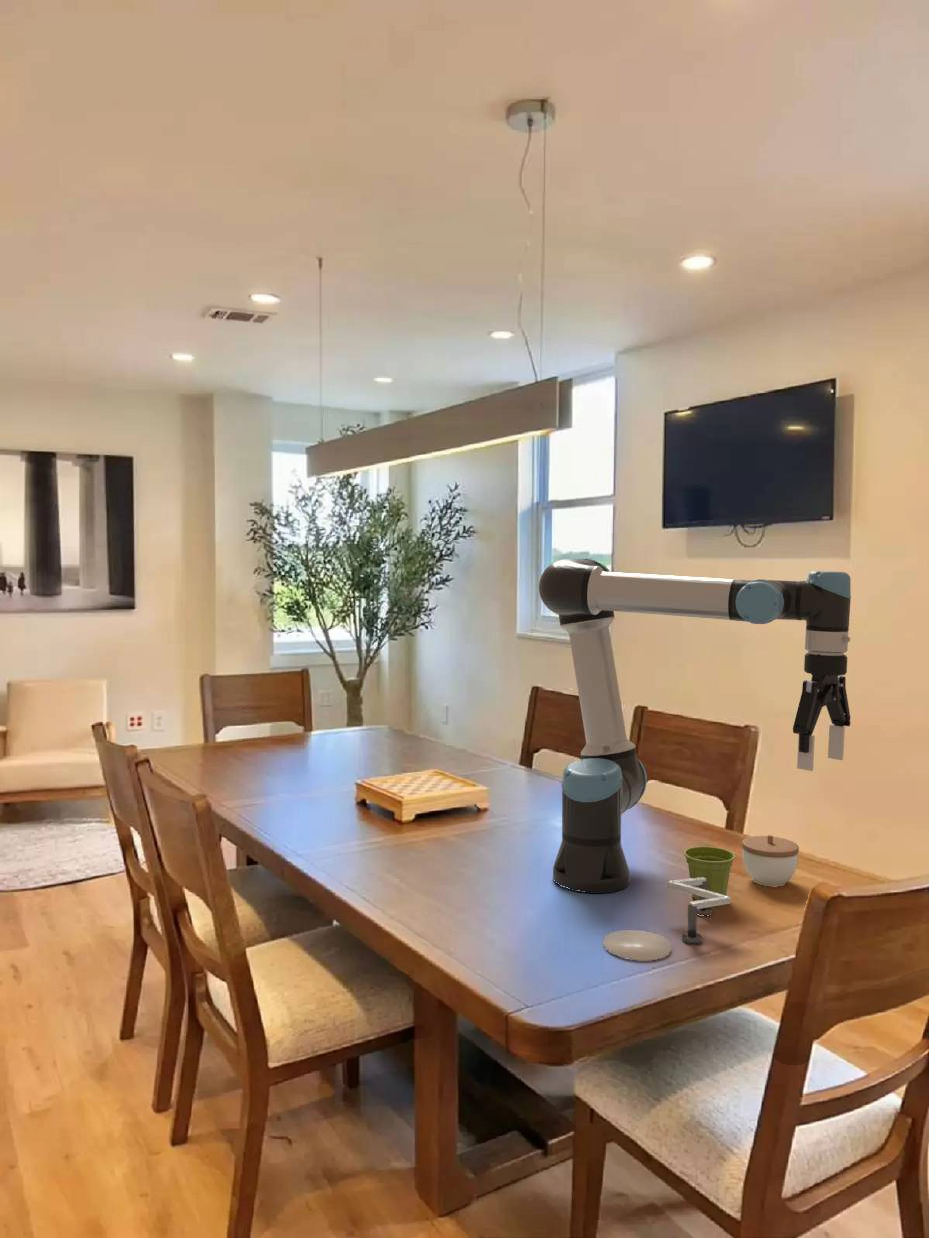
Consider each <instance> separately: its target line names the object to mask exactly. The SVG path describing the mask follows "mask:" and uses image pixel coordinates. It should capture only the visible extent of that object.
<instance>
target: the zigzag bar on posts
mask: <svg viewBox="0 0 929 1238" xmlns="http://www.w3.org/2000/svg"><path fill="white" fill-rule="evenodd" d="M667 882H668V883H667V885H668V887H667V888H669V889H674V890H677V891H679V892H684V893H687V894H691V895H692V894H694V895H697V896H699V901H697V900H693V901H689V902H688V905H687V906H688V907H687V908H688V910H687V932H684V933H683V934H682V936H681V937H682V938H681V940H683V941H684V942H686V943H685V944H687V943H689V944H688V945H691V944H698V945H700V944H699V943H701V942H702V943H703V936H702V935H701V934H700V933H698V931H697V929H698V928H697V927H698V925H697V923H698V921H697V920H698V916H697V914H699V915H704V916H707V915H710V914H712V915H713V909H712V908H711V907H717V906H724V905H728V904H731V902H732V900H731V899H732V898H731V896H728V895H727V894H726V895H722V894H719V893H715V892H711V891H708V890H707V880H706V878H704V877H699V878H690V877H689V878H683V879H682V878H681V879H674V880H673V879H672V880H671V879H670V880H668V881H667ZM696 885H699V888H697V887H693V886H696ZM707 898H708V899H707ZM683 941H682V942H683ZM684 942H683V943H684ZM702 943H701V944H702Z"/></svg>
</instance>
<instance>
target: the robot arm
mask: <svg viewBox="0 0 929 1238" xmlns="http://www.w3.org/2000/svg"><path fill="white" fill-rule="evenodd" d="M806 579H807V580H800V581H799V580H798V581H797V580H796V581H795V580H794V581H793V580H781V579H779V580H777V579H776V580H774V579H773V580H772V579H748V580H747V579H730V578H715V577H700V576H699V577H698V576H681V575H680V576H679V575H663V574H648V573H647V574H646V573H632V572H630V573H629V572H618V571H617V572H615V571H611V570H610V569H609V568H608V567H607V566H606V565H605V564H602V563H601V562H599V561H596V560H594V559H589V558H576V559H574V558H573V559H572V558H564V559H559V560H555V561H554V562H553V563H551V564H549V565H548V566H547V567H546V568H545V570H544V571H543V572H542V574H541V576H540V580H539V582H538V592H539V593H538V594H539V596H540V599H541V601H542V603H543V605H545V607H546V608H547V609H548V610H549V611H551V612H552V613H554V614H557V615H558V620H559V625H560V627H561V628H562V629H563V630H565V631H566V632H567V633H568V636H569V643H570V648H571V650H570V651H571V655H572V661H573V668H574V674H575V680H576V686H577V687H576V688H577V693H578V699H579V705H580V711H581V719H582V723H583V730H584V731H583V732H584V737H585V742H586V743H585V746H584V747H583V749H582V750H581V752H580V757H581V760H580V759H577V760H574V761H571V762H570V763H568V764H566V766H565V767H564V769H563V772H562V780H561V789H562V790H561V797H562V798H561V843H560V846H559V848H558V852H557V854H556V859H555V861H554V864H553V867H552V880H553V879H554V880H555V882H557V883H559V884H560V885H562V886H565V887H568V888H570V889H573V890H580V891H585V892H594V893H593V894H607V892H608V893H614V892H618V891H620V890H623V888H624V889H626V888H627V887H628V884H630V869H629V865H628V861H627V859H626V856H625V853H624V849H623V847H622V842H621V841H622V815H623V814H624V813H625V812H627V811H628V810H630V809H631V808H633V807H634V806H635V805H637V803H639V801H640V800H641V799H642V797H643V795H644V794H645V791H646V788H647V785H648V784H647V782H648V776H647V772H646V768H645V767H644V764H643V763H642V761H640V760H639V759H638V754H637V749H636V745H635V743H633V742H632V741H631V740H629V739H628V737H627V730H626V727H625V720H624V712H623V707H622V701H621V695H620V690H619V689H620V688H619V682H618V681H619V680H618V675H617V669H616V663H615V657H614V651H613V645H612V644H613V643H612V638H611V633H610V625H611V624H612V623H613V622H614V620H615V619H616V617H615V613H614V612H621V613H622V612H623V613H632V614H633V613H637V614H648V615H659V616H660V615H661V616H674V617H675V616H677V617H687V618H699V619H713V620H727V621H736V622H737V621H738V622H748V623H750V624H754V625H766V624H769V623H771V622H773V621H775V620H779V621H780V620H785V621H786V620H787V621H788V620H789V621H791V620H792V621H805V624H806V626H805V641H804V650H805V651H807V652H806V653H805V654H804V660H803V661H804V664H803V665H804V667H803V671H804V672H805V673H806V674H810V675H811V680H805V679H804V680H803V682H802V688H801V695H800V698H799V702H798V707H797V711H796V714H795V717H794V722H793V726H792V732H793V734H796V735H798V739H797V741H798V743H797V744H798V745H797V761H796V762H797V763H796V769H799V770H805V771H810V772H812V771H814V762H815V761H814V757H815V739H816V738H815V737H816V736H815V734H813V733H814V730H815V727H816V725H817V723H818V720H819V718H820V717H819V716H821V715H820V714H821V712H822V709H823V708H824V707H826V709H827V712H828V716H829V718H830V721H831V724H829V726H828V727H829V728H828V729H829V730H828V749H827V759H832V760H837V761H838V760H839V761H844V751H845V749H844V748H845V734H846V733H845V730H846V727H850V726H851V714H850V713H851V712H850V707H849V699H848V695H847V694H848V693H847V687H846V685H847V684H846V674H847V672H848V671H847V670H848V656H847V655H846V654H845V653H847V652H848V650H849V649H848V646H849V642H851V637H850V636H849V628H850V613H851V601H852V600H851V598H852V595H851V593H852V592H851V585H852V584H851V576H850V575H849V573H847V572H845V571H823V570H822V571H817V570H812V571H810V572H809V573H808V577H807V578H806ZM554 880H553V881H554ZM555 882H554V883H555ZM626 886H627V887H626ZM573 890H572V891H573ZM617 890H618V891H617ZM613 891H614V892H613ZM585 892H584V893H585ZM596 892H597V893H596Z"/></svg>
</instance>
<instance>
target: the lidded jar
mask: <svg viewBox="0 0 929 1238" xmlns="http://www.w3.org/2000/svg"><path fill="white" fill-rule="evenodd" d="M741 847H742V853H741V855H742V862H743V866H744V869H745V871H746V874H748V877H750V878H751V879H752V880H754V881H755V882H756V883H759V884H761V885H764V886H763V887H766V886H782V887H784V886H785V885H786V884H785V883H788V882H789V881H790V880H791V879H792V878H793V876H795V873H796V871H797V868H798V863H799V862H798V861H799V851H800V850H799V849H800V847H799V845H798V844H797V843H795V842H794V841H792V840H789V839H787V838H783V837H777V836H774V835H772V834H768V835H757V836H756V835H755V836H749V837H746V838H744V839H742V841H741ZM754 881H753V882H754ZM755 882H754V883H755ZM756 883H755V884H756ZM784 884H785V885H784ZM761 885H760V886H761ZM783 885H784V886H783Z"/></svg>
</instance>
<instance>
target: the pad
mask: <svg viewBox="0 0 929 1238" xmlns="http://www.w3.org/2000/svg"><path fill="white" fill-rule="evenodd" d="M603 944H604V945H603V948H604V947H605V948H606V949H607V950H608V951H610V952H611V953H612V954H614V955H617V956H619V957H621V958H620V959H622V958H628V959H630V960H629V961H632V960H637V961H636V962H653V961H652V960H656V961H658V960H657V959H660V960H662V959H661V958H663V959H665V958H667V957H668V956H670V954H671V953H672V943H671V942H670V941H669V940H668V939H667V938H666V937H664V936H662V935H660V934H657V933H655V932H650V931H647V930H646V931H645V930H640V929H639V930H638V929H626V930H625V929H624V930H623V929H622V930H618V931H613V932H611V933H608V934H607V935H606V936H605V937H604V938H603ZM605 948H604V949H605ZM670 952H671V953H670ZM612 954H611V955H612ZM614 955H613V956H614ZM666 956H667V957H666ZM619 957H618V958H619Z"/></svg>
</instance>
